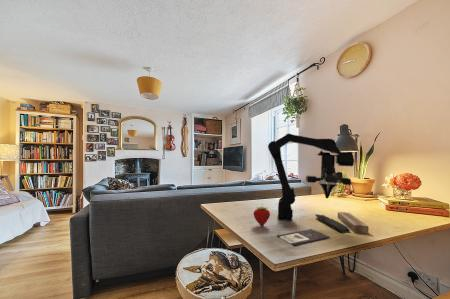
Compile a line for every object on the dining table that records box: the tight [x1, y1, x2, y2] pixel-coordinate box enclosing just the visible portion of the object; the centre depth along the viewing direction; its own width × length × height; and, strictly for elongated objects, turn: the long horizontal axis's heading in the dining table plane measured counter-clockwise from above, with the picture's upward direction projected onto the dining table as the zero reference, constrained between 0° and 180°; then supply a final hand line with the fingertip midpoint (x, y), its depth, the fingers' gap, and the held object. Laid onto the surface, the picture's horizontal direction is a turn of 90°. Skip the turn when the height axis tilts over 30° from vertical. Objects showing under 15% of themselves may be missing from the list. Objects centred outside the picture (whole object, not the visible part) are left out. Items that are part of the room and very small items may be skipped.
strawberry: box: [253, 203, 271, 227], centre depth 92 cm, size 6×8×10 cm
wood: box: [315, 214, 351, 234], centre depth 96 cm, size 22×7×3 cm, turn 7°
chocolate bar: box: [276, 228, 330, 247], centre depth 80 cm, size 9×1×18 cm
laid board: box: [337, 211, 369, 234], centre depth 95 cm, size 6×20×3 cm, turn 168°
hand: (327, 198), depth 98 cm, fingers closed
